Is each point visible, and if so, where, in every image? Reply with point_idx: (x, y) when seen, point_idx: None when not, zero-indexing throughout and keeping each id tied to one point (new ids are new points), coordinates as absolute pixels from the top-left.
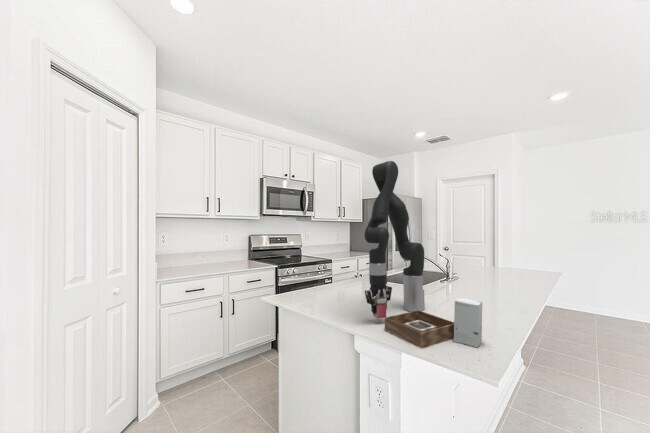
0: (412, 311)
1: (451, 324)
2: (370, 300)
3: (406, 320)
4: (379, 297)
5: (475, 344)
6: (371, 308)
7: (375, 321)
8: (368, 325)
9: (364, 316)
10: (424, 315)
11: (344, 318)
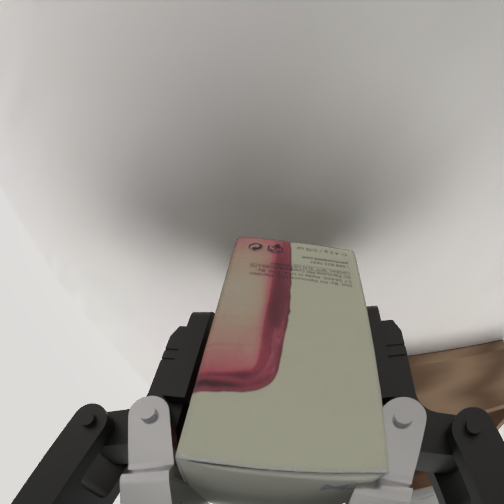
0: (485, 410)
1: (413, 490)
2: (99, 480)
3: (414, 387)
4: (305, 496)
5: None
6: (161, 362)
7: (267, 222)
8: (161, 270)
9: (238, 37)
10: (491, 416)
11: (32, 50)
